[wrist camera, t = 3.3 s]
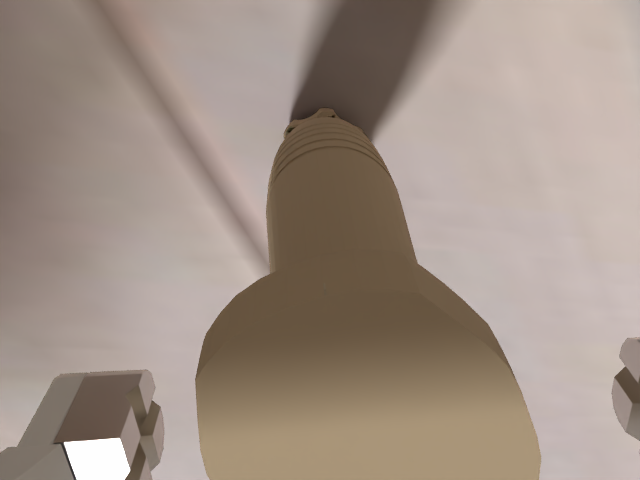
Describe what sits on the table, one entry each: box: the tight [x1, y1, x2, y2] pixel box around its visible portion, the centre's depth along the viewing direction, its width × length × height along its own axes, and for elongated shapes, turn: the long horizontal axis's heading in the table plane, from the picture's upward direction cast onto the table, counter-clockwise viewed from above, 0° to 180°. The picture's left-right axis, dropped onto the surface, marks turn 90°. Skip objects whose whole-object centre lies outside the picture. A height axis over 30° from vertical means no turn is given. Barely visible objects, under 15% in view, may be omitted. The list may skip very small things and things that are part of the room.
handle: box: [195, 108, 541, 480], centre depth 16 cm, size 5×6×15 cm
